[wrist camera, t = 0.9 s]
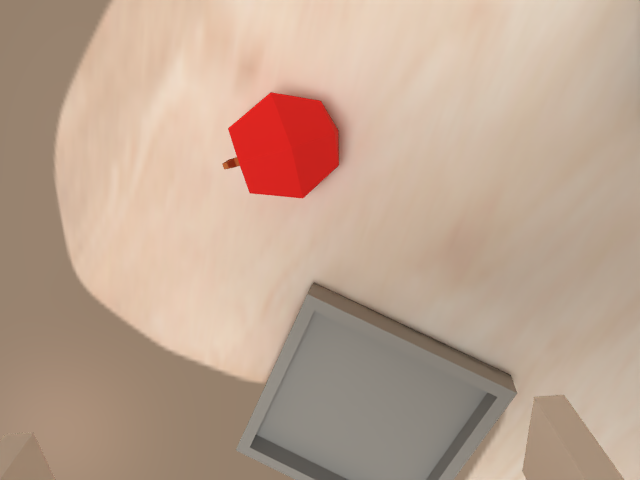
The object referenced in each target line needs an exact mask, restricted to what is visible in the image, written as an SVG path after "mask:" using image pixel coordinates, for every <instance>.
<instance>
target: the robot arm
mask: <svg viewBox="0 0 640 480" xmlns="http://www.w3.org/2000/svg"><path fill="white" fill-rule="evenodd" d="M522 471H523V473H524V475H525V478H526V480H624V479H623V477H622V476H621V474H620V473H619V472H618V470H617V469H616V467H615V466H614V465H613V463H612V462H611V460H610V459H609V457H608V456H607V455H606V453H605V452H604V450H603V449H602V448H601V446H600V445H599V443H598V442H597V441H596V439H595V438H594V436H593V435H592V434H591V432H590V431H589V429H588V428H587V427H586V425H585V424H584V422H583V421H582V420H581V418H580V417H579V415H578V414H577V413H576V411H575V410H574V408H573V407H572V405H571V404H570V403H569V401H568V400H567V398H566V397H565V396H564V395H556V396H541V397H534V401H533V408H532V414H531V420H530V426H529V433H528V439H527V445H526V452H525V458H524V464H523V470H522ZM0 480H55V477H54V475H53V473H52V471H51V469H50V467H49V464H48V462H47V460H46V458H45V456H44V454H43V452H42V450H41V447H40V445H39V443H38V441H37V439H36V437H35V435H34V433H33V432H31V433H17V434H5V435H4V436H3V437H2V439H1V440H0Z"/></svg>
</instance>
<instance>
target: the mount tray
mask: <svg viewBox="0 0 640 480" xmlns="http://www.w3.org/2000/svg"><path fill="white" fill-rule="evenodd" d="M516 394H517V391H516V388H515V386H514V383H513V380H512V378H511V375H509V374H506V373H504V372H502V371H500V370H498V369H496V368H494V367H492V366H489V365H487V364H485V363H483V362H481V361H479V360H477V359H475V358H472V357H470V356H468V355H466V354H464V353H462V352H460V351H458V350H455V349H453V348H451V347H449V346H447V345H445V344H443V343H441V342H438V341H436V340H434V339H432V338H430V337H428V336H426V335H424V334H421V333H419V332H417V331H415V330H413V329H411V328H409V327H407V326H404V325H402V324H400V323H398V322H396V321H394V320H392V319H390V318H387V317H385V316H383V315H381V314H379V313H377V312H375V311H373V310H370V309H368V308H366V307H364V306H362V305H360V304H358V303H356V302H353V301H351V300H349V299H347V298H345V297H343V296H341V295H339V294H336V293H334V292H332V291H330V290H328V289H326V288H324V287H322V286H319V285H317V284H315V283H313V284H312V286H311V288H310V290H309V292H308V294H307V296H306V298H305V301H304V303H303V305H302V307H301V309H300V311H299V314H298V316H297V318H296V320H295V322H294V325H293V327H292V329H291V331H290V333H289V335H288V338H287V340H286V342H285V344H284V346H283V348H282V351H281V353H280V355H279V357H278V359H277V362H276V364H275V366H274V368H273V370H272V372H271V375H270V377H269V379H268V381H267V383H266V385H265V388H264V390H263V392H262V394H261V396H260V399H259V401H258V403H257V405H256V407H255V409H254V412H253V414H252V416H251V418H250V420H249V422H248V425H247V427H246V429H245V431H244V433H243V436H242V438H241V440H240V442H239V444H238V446H237V449H236V450H237V451H238V452H240V453H242V454H244V455H247V456H248V457H251V458H252V459H254V460H257V461H259V462H261V463H263V464H265V465H267V466H269V467H271V468H273V469H275V470H277V471H279V472H281V473H283V474H285V475H287V476H289V477H291V478H293V479H295V480H454V478H455V477H456V476H457V474H458V473H459V472H460V470H461V469H462V467H463V466H464V465H465V463H466V462H467V461H468V459H469V458H470V457H471V455H472V454H473V452H474V451H475V450H476V449H477V447H478V446H479V444H480V443H481V442H482V440H483V439H484V438H485V436H486V435H487V434H488V432H489V431H490V430H491V428H492V427H493V425H494V424H495V423H496V421H497V420H498V419H499V417H500V416H501V415H502V413H503V412H504V410H505V409H506V408H507V406H508V405H509V404H510V402H511V401H512V400H513V398H514V397H515V396H516Z"/></svg>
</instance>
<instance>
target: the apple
mask: <svg viewBox="0 0 640 480" xmlns="http://www.w3.org/2000/svg"><path fill="white" fill-rule="evenodd" d="M228 130H229V133H230V136H231V139H232V142H233V145H234V148H235V152H236V155H237V157H236V158H233V159H230V160H228V161H226V162H224V163H223V167H224V169H228V168H233V167H237V166H240V167H241V170H242V173H243V175H244V178H245V181H246V184H247V187H248V189H249V192H250V193H254V194H264V195H274V196H285V197H295V198H304V197H305V196H306V195H307V194H308V193H309V192H310V191H311V190H313V189H314V188H315V187H316V186H317V185H318V184H319V183H320V182H321V181H322V180H323V179H324V178H326V177H327V176H328V175H329V174H330V173H331V172H332V171H333V170H334V169H335V168H336V167H337V166H338V165H339V146H338V129H337V128H336V126H335V124H334V123H333V121H332V119H331V117H330V116H329V114H328V112H327V111H326V109H325V107H324V105H323V104H322V102H321V101H318V100H312V99H306V98H301V97H295V96H289V95H283V94H277V93H270V94H268V95H267V96H266V97H265V98H264V99H262V100H261V101H260V102H259V103H258V104H257V105H255V106H254V107H253V108H252V109H251V110H249V111H248V112H247V113H246V114H245V115H244V116H242V117H241V118H240V119H239V120H238V121H236V122H235V123H234V124H233V125H232V126H231V127H229V128H228Z"/></svg>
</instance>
